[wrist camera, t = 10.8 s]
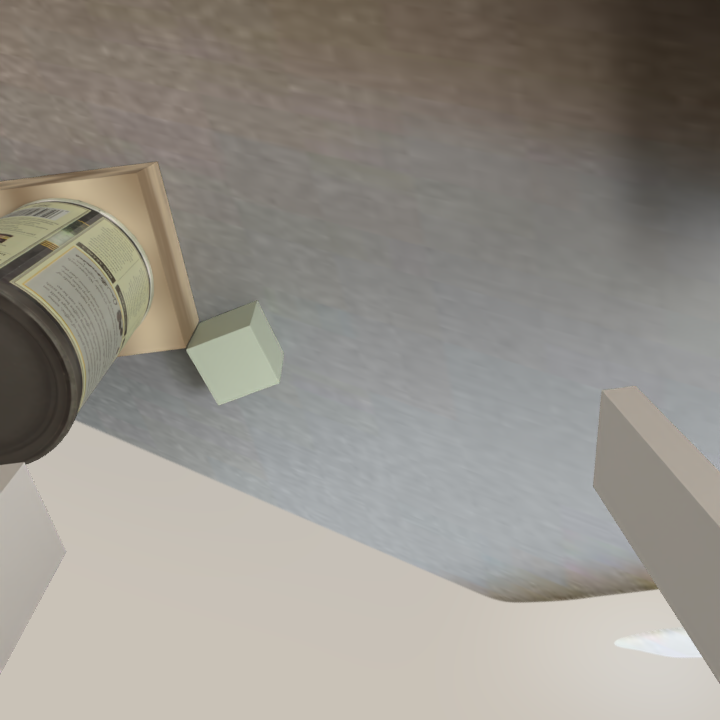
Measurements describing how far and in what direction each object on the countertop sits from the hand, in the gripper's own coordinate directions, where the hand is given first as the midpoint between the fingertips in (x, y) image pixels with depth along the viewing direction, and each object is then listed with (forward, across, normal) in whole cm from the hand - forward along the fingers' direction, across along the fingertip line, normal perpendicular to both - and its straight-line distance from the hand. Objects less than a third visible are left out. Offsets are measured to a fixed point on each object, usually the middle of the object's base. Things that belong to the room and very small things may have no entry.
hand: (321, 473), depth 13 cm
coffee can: (+27, +17, +2) cm, 32 cm away
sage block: (+32, +8, +10) cm, 34 cm away
